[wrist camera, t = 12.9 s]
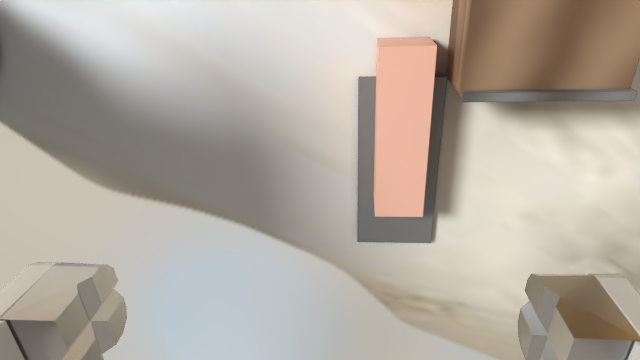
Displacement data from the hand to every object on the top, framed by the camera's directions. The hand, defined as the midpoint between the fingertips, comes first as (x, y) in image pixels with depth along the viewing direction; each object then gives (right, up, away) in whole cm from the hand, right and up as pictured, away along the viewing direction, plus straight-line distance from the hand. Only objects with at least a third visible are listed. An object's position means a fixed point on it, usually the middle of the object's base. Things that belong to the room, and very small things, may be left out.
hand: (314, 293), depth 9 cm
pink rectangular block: (+7, +7, +28) cm, 30 cm away
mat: (+7, +4, +30) cm, 31 cm away
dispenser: (+16, +14, +24) cm, 32 cm away
